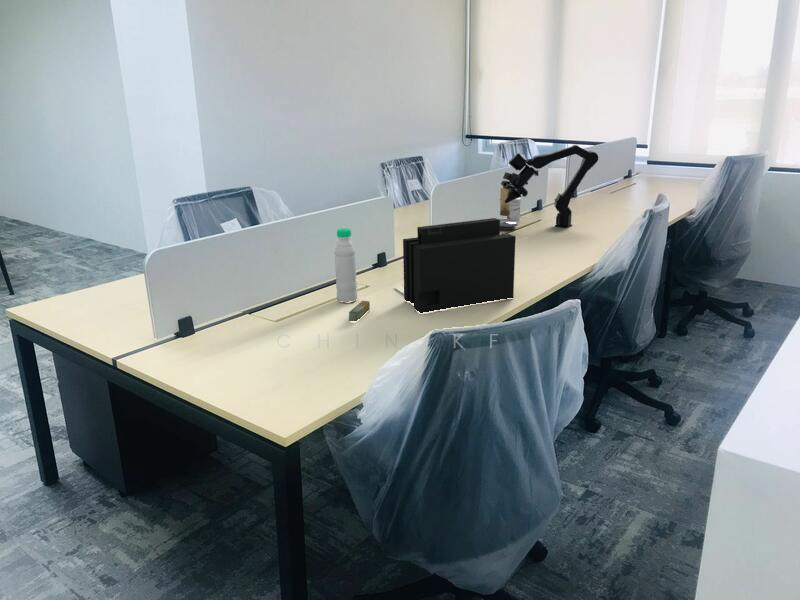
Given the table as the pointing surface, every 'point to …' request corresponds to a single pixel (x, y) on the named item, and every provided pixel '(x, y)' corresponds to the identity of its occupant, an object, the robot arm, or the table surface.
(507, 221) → the turntable platter
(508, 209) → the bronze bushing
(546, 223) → the table surface
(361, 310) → the medication box
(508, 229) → the turntable base
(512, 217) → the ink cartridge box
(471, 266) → the game console
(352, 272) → the water bottle
